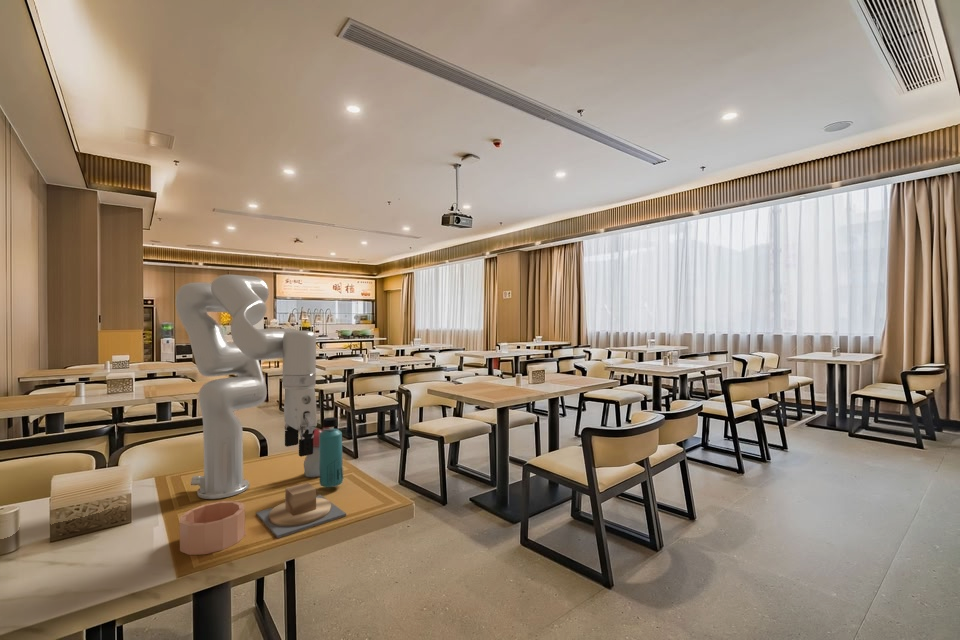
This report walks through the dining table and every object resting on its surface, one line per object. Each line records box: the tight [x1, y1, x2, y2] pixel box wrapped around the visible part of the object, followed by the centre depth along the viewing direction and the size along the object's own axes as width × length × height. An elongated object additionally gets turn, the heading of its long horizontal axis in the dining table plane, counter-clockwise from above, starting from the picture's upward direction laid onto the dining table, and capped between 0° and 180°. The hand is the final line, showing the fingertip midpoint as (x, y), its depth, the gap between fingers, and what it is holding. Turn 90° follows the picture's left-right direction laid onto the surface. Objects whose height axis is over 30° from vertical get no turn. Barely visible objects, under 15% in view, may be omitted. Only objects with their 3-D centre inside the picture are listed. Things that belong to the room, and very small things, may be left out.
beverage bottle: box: [318, 417, 344, 488], centre depth 125 cm, size 6×7×20 cm
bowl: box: [179, 500, 246, 556], centre depth 96 cm, size 12×12×6 cm
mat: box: [256, 494, 347, 539], centre depth 108 cm, size 16×16×1 cm
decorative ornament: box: [303, 426, 331, 478], centre depth 136 cm, size 9×7×15 cm
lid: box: [269, 482, 332, 526], centre depth 108 cm, size 14×14×6 cm
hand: (298, 450), depth 108 cm, fingers open, 9 cm apart
